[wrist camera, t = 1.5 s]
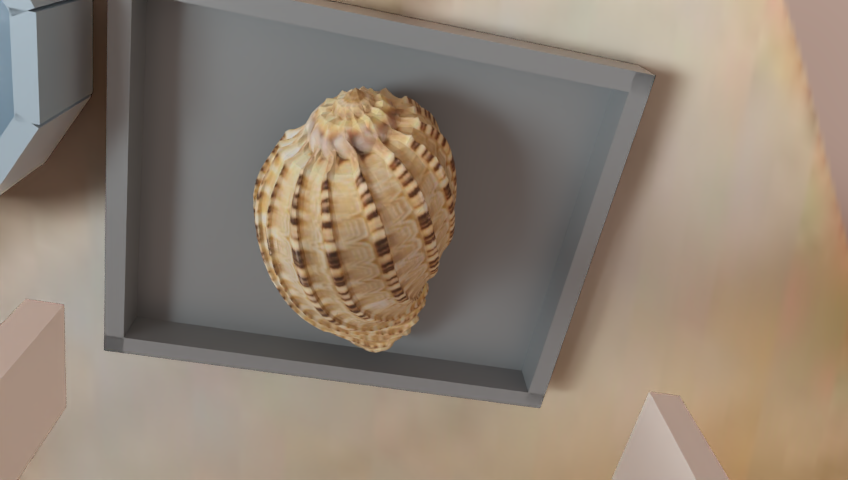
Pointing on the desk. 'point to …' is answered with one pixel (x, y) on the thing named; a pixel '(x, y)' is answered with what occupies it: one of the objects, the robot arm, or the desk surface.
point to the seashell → (357, 215)
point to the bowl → (41, 79)
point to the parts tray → (291, 108)
